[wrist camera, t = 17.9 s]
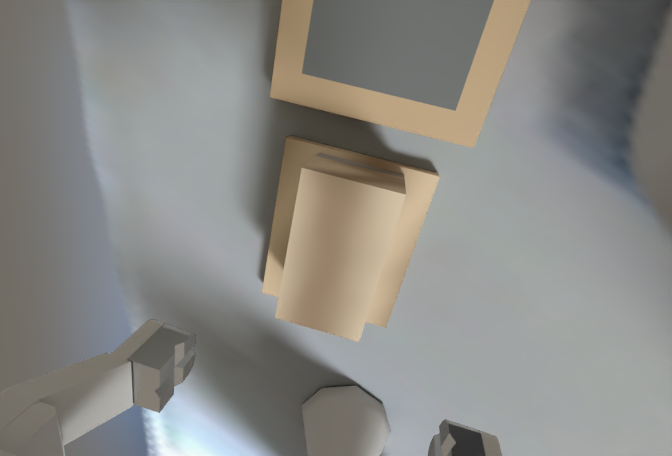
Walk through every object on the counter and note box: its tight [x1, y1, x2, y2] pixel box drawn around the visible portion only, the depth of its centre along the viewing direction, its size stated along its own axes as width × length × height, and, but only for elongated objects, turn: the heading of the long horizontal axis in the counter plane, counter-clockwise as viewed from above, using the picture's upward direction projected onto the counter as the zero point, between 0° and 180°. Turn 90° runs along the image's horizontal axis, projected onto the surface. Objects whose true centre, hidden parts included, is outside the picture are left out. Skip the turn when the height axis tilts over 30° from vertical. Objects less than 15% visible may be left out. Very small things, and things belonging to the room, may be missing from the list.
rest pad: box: [262, 136, 440, 328], centre depth 22 cm, size 9×11×1 cm
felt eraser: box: [275, 152, 406, 342], centre depth 19 cm, size 5×9×4 cm, turn 168°
